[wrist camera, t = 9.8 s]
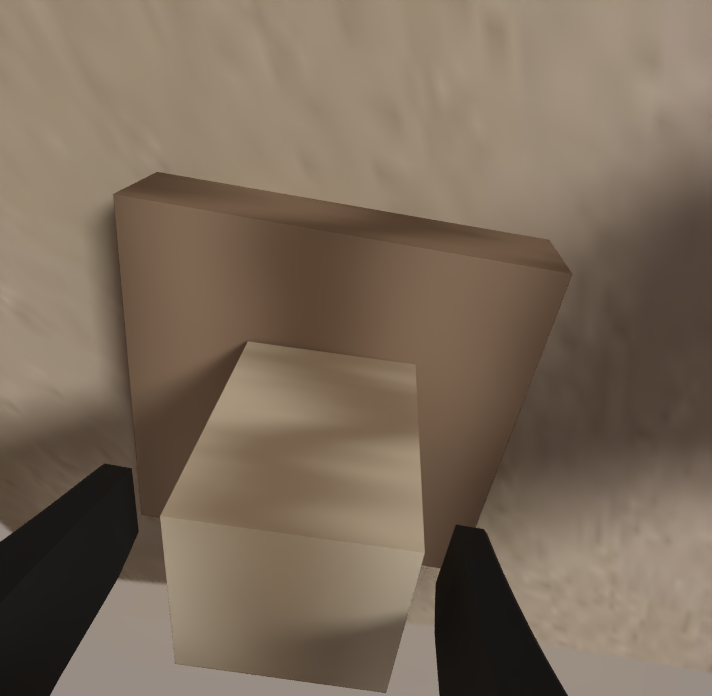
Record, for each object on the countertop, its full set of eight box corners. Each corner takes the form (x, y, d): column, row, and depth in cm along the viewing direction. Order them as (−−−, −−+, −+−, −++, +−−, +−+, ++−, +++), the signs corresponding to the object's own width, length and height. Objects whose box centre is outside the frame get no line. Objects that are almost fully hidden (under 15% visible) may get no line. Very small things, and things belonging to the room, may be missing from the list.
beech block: (415, 364, 14) (424, 552, 9) (390, 486, 16) (386, 692, 11) (247, 341, 14) (159, 516, 9) (246, 466, 16) (175, 663, 11)
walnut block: (545, 234, 15) (572, 274, 12) (452, 505, 21) (458, 571, 18) (164, 168, 15) (113, 193, 13) (175, 455, 21) (141, 514, 18)
